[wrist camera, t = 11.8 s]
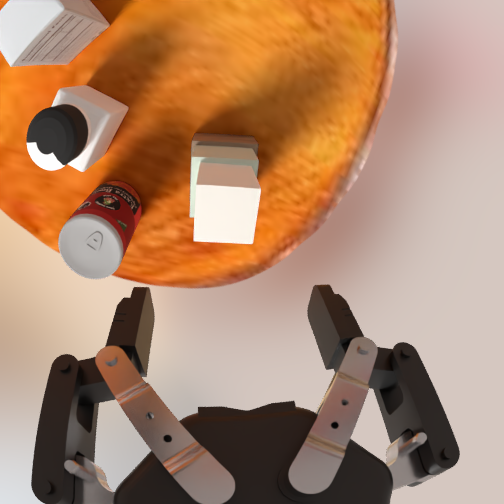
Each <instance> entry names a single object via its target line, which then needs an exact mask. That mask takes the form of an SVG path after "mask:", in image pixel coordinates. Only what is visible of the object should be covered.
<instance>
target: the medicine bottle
mask: <svg viewBox="0 0 504 504" xmlns="http://www.w3.org/2000/svg"><path fill="white" fill-rule="evenodd" d="M128 109H129V108H128V106H126V105H124V104H122V103H120V102H118V101H117V100H115V99H113V98H111V97H109V96H107V95H105V94H103V93H101V92H99V91H97V90H95V89H93V88H91V87H89V86H87V85H83V86H74V87H66V88H61V89H59V91H58V93H57V95H56V97H55V99H54V102H53V104H52V106H51V107H50V108H46V109H44V110H42V111H40V112H39V113H38V114H37V115H36V116H35V117H34V118H33V120H32V121H31V123H30V125H29V128H28V132H27V148H28V151H29V154H30V156H31V158H32V159H33V161H34V162H35V163H36V164H37V165H38V166H39V167H41V168H43V169H46V170H57V169H60V168H62V167H64V166H65V165H67V164H69V165H70V166H72V167H74V168H76V169H78V170H79V171H81V172H84V171H85V170H87V169H88V168H89V167H90V166H91V165H93V164H94V163H95V162H96V161H98V160H99V159H100V158H102V157H103V156H104V155H105V153H106V151H107V149H108V147H109V145H110V143H111V141H112V139H113V137H114V135H115V133H116V131H117V130H118V128H119V126H120V124H121V122H122V120H123V118H124V117H125V115H126V113H127V111H128Z"/></svg>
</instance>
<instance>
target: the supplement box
mask: <svg viewBox="0 0 504 504" xmlns="http://www.w3.org/2000/svg"><path fill="white" fill-rule="evenodd" d="M109 26H110V24H109V23H108V22H107V20H106V19H105V18H104V17H103V15H102V14H101V13H100V12H99V10H98V9H97V8H96V7H95V6H94V5H93V3H92V2H91V1H90V0H9V1H8V2H7V3H6V5H5V6H4V7H3V8H2V9H1V11H0V51H1V52H2V54H3V56H4V57H5V59H6V60H7V62H8V63H9V65H10V66H11V67H13V66H26V65H54V64H69V63H70V62H71V61H72V60H73V59H74V58H75V57H76V56H77V55H78V54H79V53H80V52H81V51H82V50H83V49H84V48H85V47H87V46H88V45H89V44H90V43H91V42H92V41H93V40H94V39H95V38H96V37H98V36H99V35H100V34H101V33H102V32H103V31H104V30H106V29H107V28H108V27H109Z"/></svg>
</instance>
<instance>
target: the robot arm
mask: <svg viewBox="0 0 504 504" xmlns="http://www.w3.org/2000/svg"><path fill="white" fill-rule="evenodd" d="M308 319H309V322H310V325H311V328H312V330H313V333H314V336H315V339H316V342H317V345H318V348H319V350H320V353H321V356H322V359H323V362H324V365H325V368H326V369H327V370H328V369H334V371H335V375H334V376H333V379H332V381H331V383H330V385H329V387H328V389H327V391H326V393H325V396H324V398H323V400H322V402H321V404H320V405H319V407H318V409H317V411H316V413H314V412H312V411H310V410H307V409H304V408H300V407H296V406H295V402H294V401H289V402H280V403H271V404H268V405H265V406H262V407H259V408H256V409H253V410H249V411H245V410H238V409H233V408H227V407H198V413H196V414H192V415H190V416H187V417H185V418H183V419H182V420H180V421H178V420H177V418H176V417H175V416H174V415H173V414H172V412H171V411H170V410H169V409H168V407H167V406H166V405H165V404H164V402H163V401H162V400H161V399H160V397H159V396H158V395H157V394H156V392H155V391H154V390H153V388H152V387H151V386H150V385H149V384H148V383H146V382H145V381H144V380H143V379H142V377H146V376H147V369H148V361H149V354H150V347H151V340H152V333H153V327H154V308H153V303H152V298H151V293H150V289H149V287H134V288H133V291H132V294H131V297H130V298H123V299H122V300H121V302H120V303H119V304H118V305H117V308H116V312H115V315H114V318H113V322H112V325H111V329H110V332H109V336H108V339H107V343H106V346H105V347H104V348H103V349H101V350H100V351H99V352H98V353H97V355H96V357H93V358H90V359H85V360H80V361H78V360H77V359H76V358H75V357H74V356H72V355H68V354H65V355H61V356H59V357H57V358H56V359H55V360H54V362H53V364H52V367H51V370H50V374H49V378H48V382H47V386H46V390H45V394H44V399H43V403H42V408H41V414H40V418H39V424H38V430H37V436H36V443H35V450H34V459H33V469H32V482H31V486H32V490H33V492H34V494H35V496H36V497H37V498H38V499H39V500H40V501H41V502H43V503H45V504H390V498H391V494H392V490H395V489H398V488H401V487H403V486H406V485H407V486H411V487H413V486H416V485H418V484H421V483H423V482H425V481H427V480H429V479H431V478H433V477H435V476H436V475H439V474H440V473H442V472H444V471H446V470H448V469H450V468H451V467H453V466H454V465H455V464H456V463H457V461H458V459H459V455H460V453H459V447H458V445H457V442H456V439H455V437H454V434H453V432H452V429H451V426H450V424H449V421H448V419H447V416H446V414H445V411H444V409H443V407H442V405H441V402H440V400H439V397H438V395H437V393H436V391H435V388H434V386H433V384H432V382H431V380H430V378H429V375H428V373H427V371H426V369H425V367H424V365H423V363H422V361H421V359H420V357H419V355H418V353H417V351H416V349H415V348H414V347H413V346H412V345H410V344H408V343H404V342H402V343H398V344H396V345H395V346H394V348H393V349H387V348H380V347H377V346H376V344H375V343H374V342H373V341H372V340H370V339H368V338H366V337H364V335H363V333H362V331H361V329H360V327H359V325H358V323H357V321H356V319H355V317H354V316H353V314H352V312H351V310H350V307H349V305H348V303H347V302H346V300H345V299H344V298H343V297H342V296H340V295H339V294H334V292H333V290H332V288H331V286H330V285H315V286H314V287H313V290H312V294H311V298H310V302H309V305H308ZM369 388H372V389H374V392H375V395H376V398H377V401H378V404H379V407H380V411H381V413H382V417H383V420H384V423H385V426H386V429H387V432H388V436H389V439H390V442H391V444H390V445H389V447H388V449H387V452H386V457H387V458H386V461H387V462H386V464H385V463H384V462H383V461H382V460H380V459H379V458H377V457H376V456H374V455H373V454H371V453H370V452H368V451H367V450H366V449H364V448H363V447H361V446H360V445H358V444H357V443H356V442H354V441H353V440H351V439H350V437H351V435H352V433H353V430H354V428H355V425H356V423H357V420H358V418H359V415H360V412H361V409H362V407H363V404H364V401H365V399H366V396H367V393H368V390H369ZM115 399H116V400H117V401H118V403H119V405H120V406H121V408H122V409H123V411H124V412H125V414H126V415H127V417H128V418H129V420H130V421H131V423H132V424H133V425H134V427H135V429H136V430H137V431H138V432H139V434H140V435H141V437H142V438H143V440H144V441H145V442H146V444H147V445H148V446H149V448H150V449H151V450H152V451H151V452H150V453H149V454H148V455H147V456H146V457H145V458H144V459H143V460H142V461H141V462H140V464H139V465H138V466H137V467H136V468H135V469H134V470H133V471H132V472H131V473H130V474H129V475H128V476H127V477H126V478H125V479H124V480H123V481H122V483H121V484H120V485H119V486H118V487H117V489H116V491H115V492H113V491H112V490H111V489H110V488H109V486H108V484H107V480H106V476H105V473H104V472H103V470H102V469H101V468H100V467H99V466H97V465H96V464H94V457H95V439H96V427H97V416H98V407H99V403H100V402H105V401H110V400H115Z"/></svg>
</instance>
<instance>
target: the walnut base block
mask: <svg viewBox="0 0 504 504" xmlns="http://www.w3.org/2000/svg"><path fill="white" fill-rule="evenodd" d="M195 145H204V146H225V147H241V148H252V149H253V151H254V152H255V154H256V156H257V153H258V145H259V144H258V143H257V141H256V140H255V138H254V137H253V136H244V135H229V134H208V133H195V134H194V137H193V139H192V147H191V161H192V154H193V151H194V148H195ZM190 188H191V172H190Z"/></svg>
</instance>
